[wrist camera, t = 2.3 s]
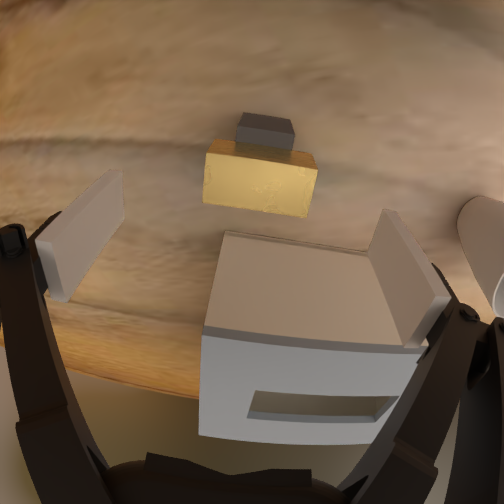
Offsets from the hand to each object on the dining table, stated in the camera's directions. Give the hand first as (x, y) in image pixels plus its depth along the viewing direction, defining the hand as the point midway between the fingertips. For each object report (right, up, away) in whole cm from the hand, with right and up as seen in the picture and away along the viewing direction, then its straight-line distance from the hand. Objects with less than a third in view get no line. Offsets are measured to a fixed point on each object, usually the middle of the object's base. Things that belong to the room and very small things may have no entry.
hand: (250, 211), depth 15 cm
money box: (+6, -8, +18) cm, 21 cm away
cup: (+22, +1, +11) cm, 25 cm away
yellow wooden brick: (+1, +3, +4) cm, 6 cm away
